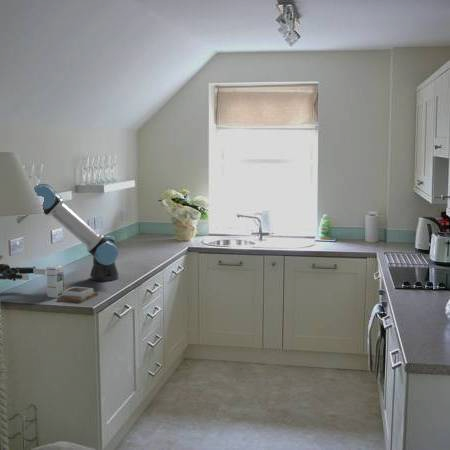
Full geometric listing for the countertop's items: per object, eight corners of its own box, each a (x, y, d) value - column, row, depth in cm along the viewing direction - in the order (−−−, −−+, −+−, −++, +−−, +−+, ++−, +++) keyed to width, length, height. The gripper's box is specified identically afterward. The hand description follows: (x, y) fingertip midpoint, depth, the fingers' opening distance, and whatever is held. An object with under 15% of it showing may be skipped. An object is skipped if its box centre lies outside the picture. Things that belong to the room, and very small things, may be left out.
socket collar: (74, 291, 307) (73, 286, 307) (93, 293, 304) (93, 288, 303) (62, 296, 297) (62, 291, 297) (81, 298, 294) (81, 292, 294)
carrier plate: (75, 293, 310) (75, 290, 310) (97, 295, 306) (97, 292, 306) (57, 300, 295) (57, 297, 295) (80, 302, 291) (80, 299, 291)
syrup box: (57, 298, 300) (56, 267, 299) (46, 296, 303) (46, 266, 301) (64, 295, 306) (63, 265, 304) (54, 294, 308) (53, 264, 306)
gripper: (15, 274, 325) (51, 277, 318) (-18, 283, 301) (21, 287, 295) (15, 259, 324) (51, 262, 317) (-18, 268, 300) (20, 271, 294)
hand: (37, 274), depth 306 cm, fingers open, 13 cm apart
